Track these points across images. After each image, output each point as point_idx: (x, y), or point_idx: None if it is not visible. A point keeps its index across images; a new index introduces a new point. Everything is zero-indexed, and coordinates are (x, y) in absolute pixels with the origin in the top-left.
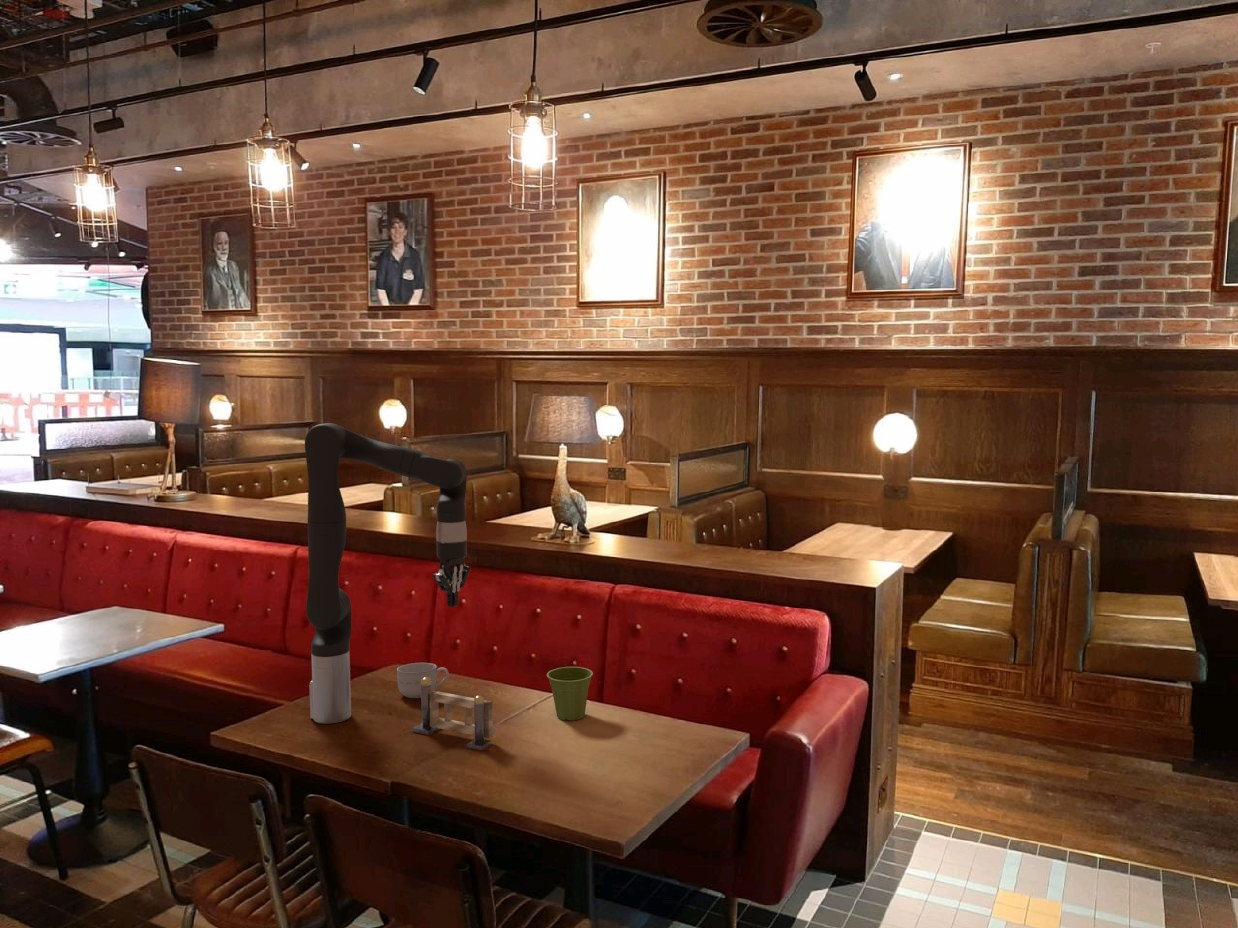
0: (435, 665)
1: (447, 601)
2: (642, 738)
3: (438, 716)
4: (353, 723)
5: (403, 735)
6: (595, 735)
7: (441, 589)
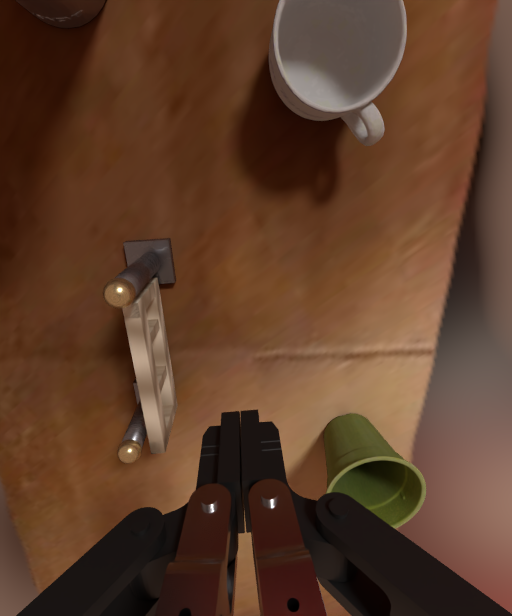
0: (387, 81)
1: (202, 445)
2: None
3: (154, 295)
4: (71, 67)
5: (100, 238)
6: None
7: (117, 533)
